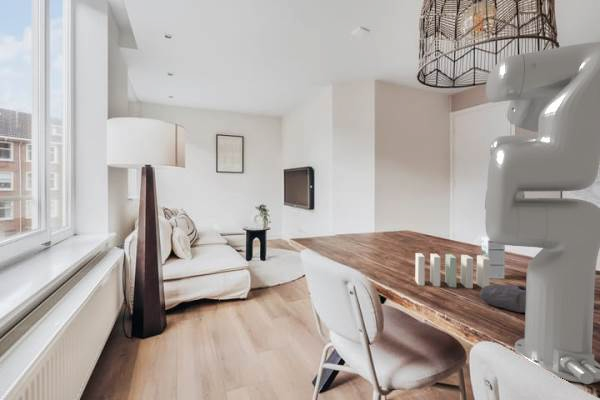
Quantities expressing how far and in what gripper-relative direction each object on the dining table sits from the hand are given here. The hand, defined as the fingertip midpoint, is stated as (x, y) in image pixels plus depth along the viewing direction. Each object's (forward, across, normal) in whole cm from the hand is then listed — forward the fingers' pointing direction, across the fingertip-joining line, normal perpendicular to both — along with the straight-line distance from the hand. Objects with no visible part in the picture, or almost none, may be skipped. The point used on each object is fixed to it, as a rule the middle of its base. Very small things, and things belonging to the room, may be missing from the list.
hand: (503, 233), depth 93 cm
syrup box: (+18, -2, -12) cm, 22 cm away
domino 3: (+18, +16, 0) cm, 24 cm away
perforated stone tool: (+18, +6, +18) cm, 27 cm away
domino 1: (+18, +26, 0) cm, 32 cm away
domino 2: (+18, +21, 0) cm, 28 cm away
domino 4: (+18, +11, 0) cm, 21 cm away
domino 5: (+18, +6, 0) cm, 19 cm away
